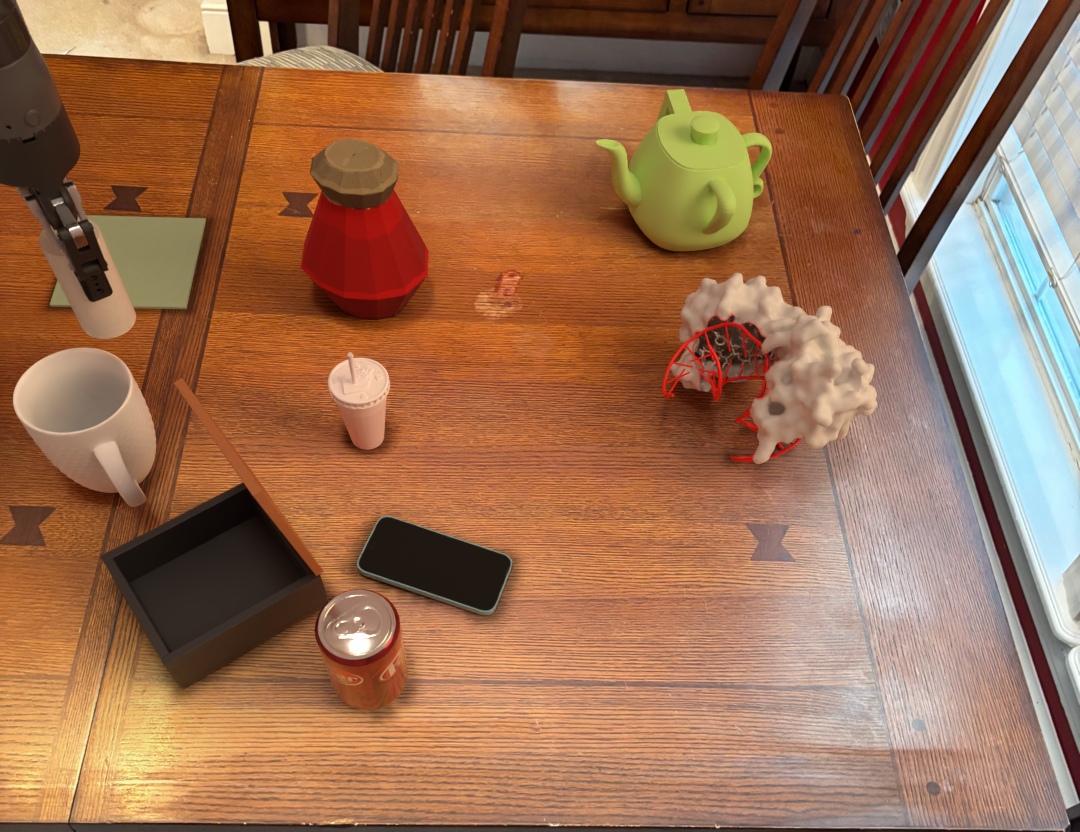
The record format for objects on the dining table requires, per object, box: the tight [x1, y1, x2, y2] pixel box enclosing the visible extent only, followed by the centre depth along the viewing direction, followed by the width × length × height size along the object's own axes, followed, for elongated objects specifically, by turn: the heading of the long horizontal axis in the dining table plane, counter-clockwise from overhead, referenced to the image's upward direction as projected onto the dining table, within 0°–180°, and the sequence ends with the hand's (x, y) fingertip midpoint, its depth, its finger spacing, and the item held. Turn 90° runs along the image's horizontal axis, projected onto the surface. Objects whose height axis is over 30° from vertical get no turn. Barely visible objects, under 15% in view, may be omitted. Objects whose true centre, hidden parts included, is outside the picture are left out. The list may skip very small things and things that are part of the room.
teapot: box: [595, 88, 773, 252], centre depth 117 cm, size 19×20×14 cm
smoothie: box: [327, 351, 391, 451], centre depth 95 cm, size 6×6×14 cm
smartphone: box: [356, 515, 513, 616], centre depth 93 cm, size 7×1×15 cm
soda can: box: [314, 588, 409, 711], centre depth 82 cm, size 7×7×12 cm
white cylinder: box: [38, 216, 137, 340], centre depth 82 cm, size 5×5×10 cm
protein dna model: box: [661, 272, 878, 465], centre depth 100 cm, size 20×18×25 cm
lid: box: [173, 377, 324, 576], centre depth 80 cm, size 17×14×1 cm
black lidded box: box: [100, 482, 329, 691], centre depth 88 cm, size 16×14×6 cm
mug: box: [12, 347, 157, 508], centre depth 91 cm, size 15×11×13 cm
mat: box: [48, 214, 207, 311], centre depth 113 cm, size 16×16×1 cm
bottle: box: [300, 138, 430, 321], centre depth 104 cm, size 16×14×20 cm
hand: (88, 277), depth 81 cm, fingers closed on white cylinder, 5 cm apart
